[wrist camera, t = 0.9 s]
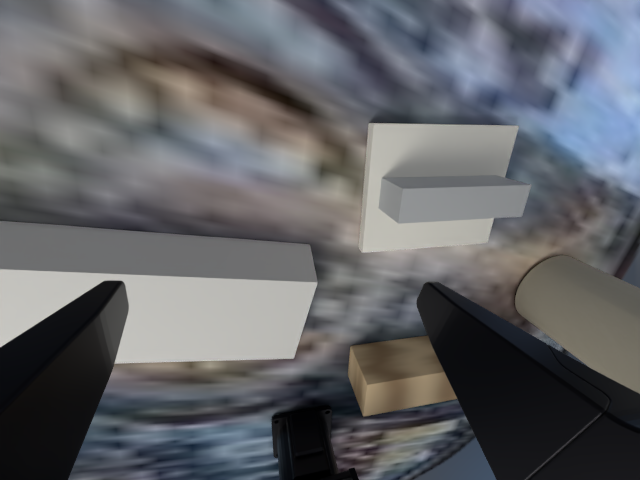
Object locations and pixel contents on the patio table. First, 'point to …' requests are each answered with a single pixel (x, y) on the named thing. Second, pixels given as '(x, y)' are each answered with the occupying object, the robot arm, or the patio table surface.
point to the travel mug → (586, 315)
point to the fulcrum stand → (436, 185)
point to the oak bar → (397, 375)
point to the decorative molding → (163, 289)
